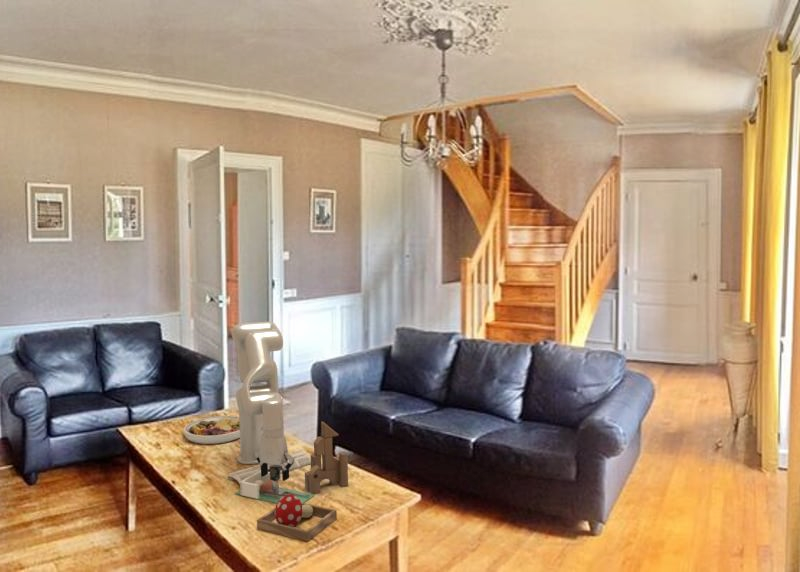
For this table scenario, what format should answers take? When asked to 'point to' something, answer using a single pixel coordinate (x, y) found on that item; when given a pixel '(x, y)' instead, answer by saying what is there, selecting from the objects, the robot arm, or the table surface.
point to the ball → (259, 483)
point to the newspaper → (299, 456)
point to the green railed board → (279, 499)
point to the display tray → (297, 533)
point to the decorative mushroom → (291, 510)
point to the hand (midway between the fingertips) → (275, 477)
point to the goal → (252, 485)
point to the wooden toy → (326, 463)
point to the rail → (286, 493)
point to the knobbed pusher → (273, 482)
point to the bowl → (213, 430)
